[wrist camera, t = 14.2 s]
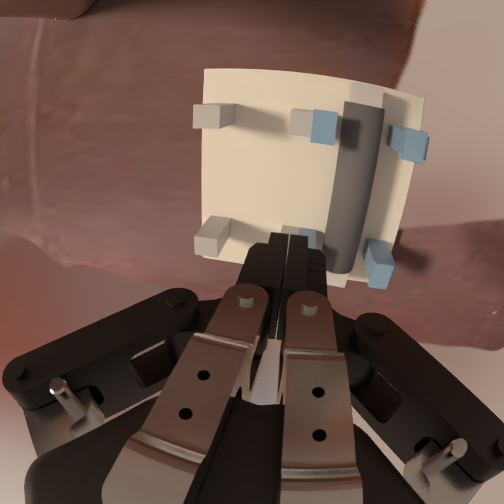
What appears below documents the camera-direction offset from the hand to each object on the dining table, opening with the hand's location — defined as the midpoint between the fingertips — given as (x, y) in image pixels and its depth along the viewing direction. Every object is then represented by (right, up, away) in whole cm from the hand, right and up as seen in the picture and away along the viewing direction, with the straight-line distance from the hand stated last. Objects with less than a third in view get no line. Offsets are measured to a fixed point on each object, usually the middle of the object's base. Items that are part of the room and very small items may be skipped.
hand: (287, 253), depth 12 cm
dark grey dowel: (+8, +7, +15) cm, 18 cm away
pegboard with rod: (+4, +7, +16) cm, 18 cm away
